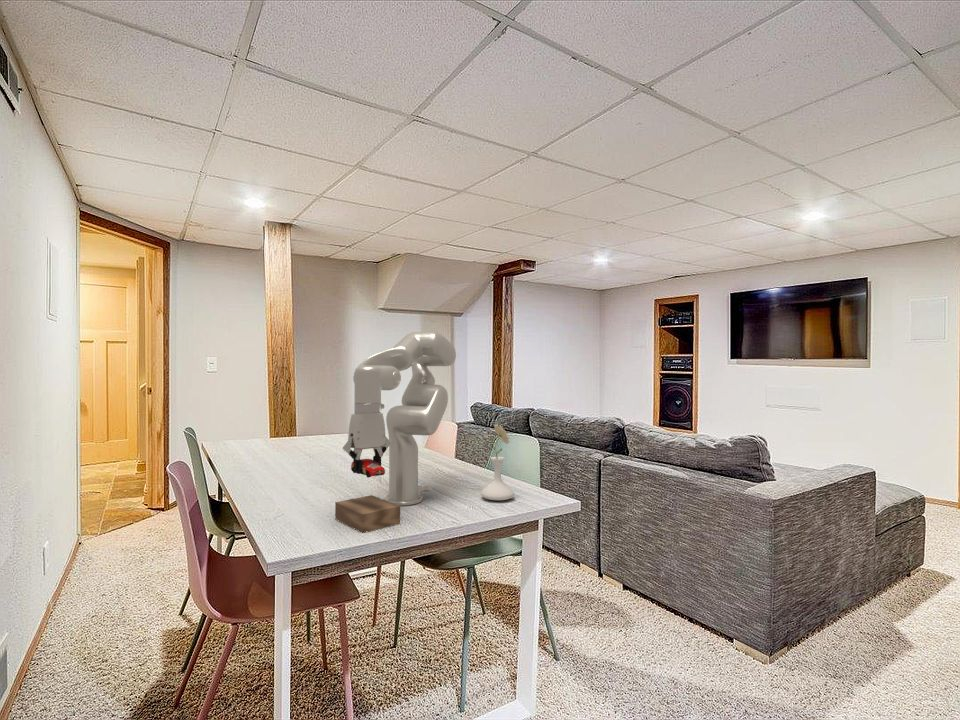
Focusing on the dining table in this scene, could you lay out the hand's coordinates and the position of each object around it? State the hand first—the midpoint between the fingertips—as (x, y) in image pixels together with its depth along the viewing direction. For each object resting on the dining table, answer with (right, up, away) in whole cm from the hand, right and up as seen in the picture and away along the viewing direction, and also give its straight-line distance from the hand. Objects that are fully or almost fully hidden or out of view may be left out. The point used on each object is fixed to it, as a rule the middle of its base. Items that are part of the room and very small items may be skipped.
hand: (367, 470), depth 147 cm
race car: (0, -1, 0) cm, 1 cm away
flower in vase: (+39, -15, +26) cm, 49 cm away
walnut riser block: (0, -15, 0) cm, 15 cm away
